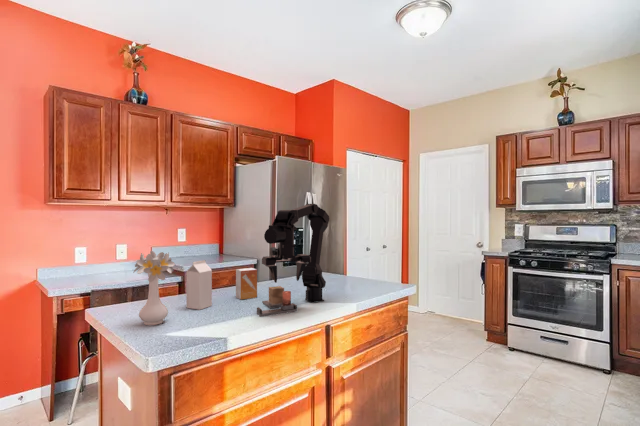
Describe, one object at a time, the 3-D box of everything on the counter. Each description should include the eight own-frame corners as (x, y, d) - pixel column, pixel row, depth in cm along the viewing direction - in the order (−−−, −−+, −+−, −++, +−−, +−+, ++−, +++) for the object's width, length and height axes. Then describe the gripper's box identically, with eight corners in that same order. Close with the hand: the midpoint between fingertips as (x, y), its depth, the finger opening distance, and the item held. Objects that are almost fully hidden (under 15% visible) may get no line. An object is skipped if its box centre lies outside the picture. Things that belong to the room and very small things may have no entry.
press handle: (289, 306, 144) (289, 290, 144) (293, 308, 140) (293, 292, 140) (280, 307, 142) (280, 291, 142) (283, 310, 138) (283, 293, 138)
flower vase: (142, 333, 115) (142, 255, 115) (128, 320, 129) (128, 251, 129) (183, 325, 124) (183, 252, 124) (166, 314, 138) (166, 248, 138)
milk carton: (212, 306, 150) (211, 260, 150) (199, 310, 143) (199, 262, 143) (198, 304, 153) (198, 259, 153) (186, 308, 146) (186, 261, 146)
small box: (240, 300, 160) (240, 270, 160) (235, 297, 166) (235, 269, 166) (257, 297, 165) (257, 269, 165) (252, 295, 170) (252, 267, 170)
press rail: (293, 309, 144) (293, 303, 144) (297, 311, 141) (297, 305, 141) (256, 314, 138) (256, 307, 138) (260, 316, 134) (260, 310, 134)
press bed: (281, 301, 158) (281, 298, 158) (290, 306, 149) (290, 303, 149) (262, 303, 154) (262, 300, 154) (269, 308, 145) (269, 305, 145)
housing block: (279, 299, 155) (279, 285, 155) (284, 302, 151) (284, 287, 151) (268, 301, 153) (268, 286, 153) (272, 303, 148) (272, 289, 148)
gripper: (300, 239, 153) (300, 276, 153) (257, 241, 144) (257, 280, 144) (311, 241, 143) (311, 280, 143) (266, 243, 134) (266, 285, 134)
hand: (286, 281), depth 141 cm, fingers open, 9 cm apart
